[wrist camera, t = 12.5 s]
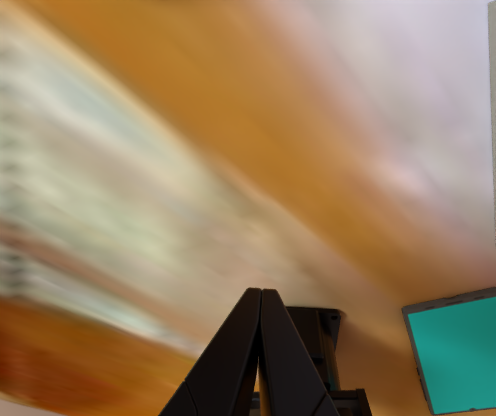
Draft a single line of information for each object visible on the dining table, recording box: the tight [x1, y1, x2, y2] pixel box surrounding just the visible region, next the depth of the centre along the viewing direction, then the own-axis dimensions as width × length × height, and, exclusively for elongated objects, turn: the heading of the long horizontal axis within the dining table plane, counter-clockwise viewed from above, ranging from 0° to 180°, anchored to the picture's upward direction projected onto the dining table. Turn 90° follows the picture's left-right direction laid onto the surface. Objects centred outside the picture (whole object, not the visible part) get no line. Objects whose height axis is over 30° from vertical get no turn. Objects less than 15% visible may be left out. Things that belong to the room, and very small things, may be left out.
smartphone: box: [402, 287, 496, 415], centre depth 27 cm, size 7×1×15 cm
